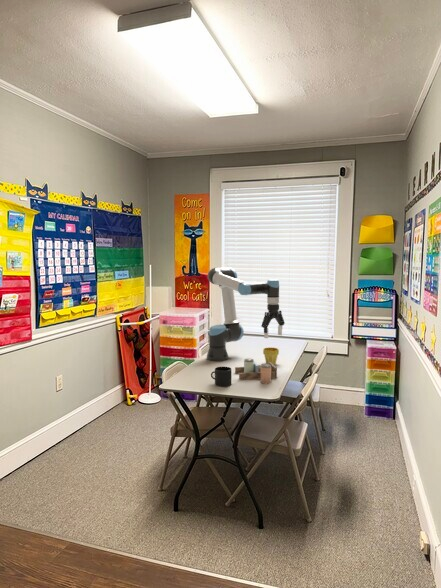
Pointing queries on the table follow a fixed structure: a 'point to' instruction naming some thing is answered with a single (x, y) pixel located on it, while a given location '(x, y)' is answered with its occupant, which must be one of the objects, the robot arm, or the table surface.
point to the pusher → (256, 367)
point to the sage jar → (248, 365)
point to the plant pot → (271, 354)
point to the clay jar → (265, 373)
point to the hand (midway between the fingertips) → (273, 336)
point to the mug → (222, 376)
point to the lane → (255, 373)
